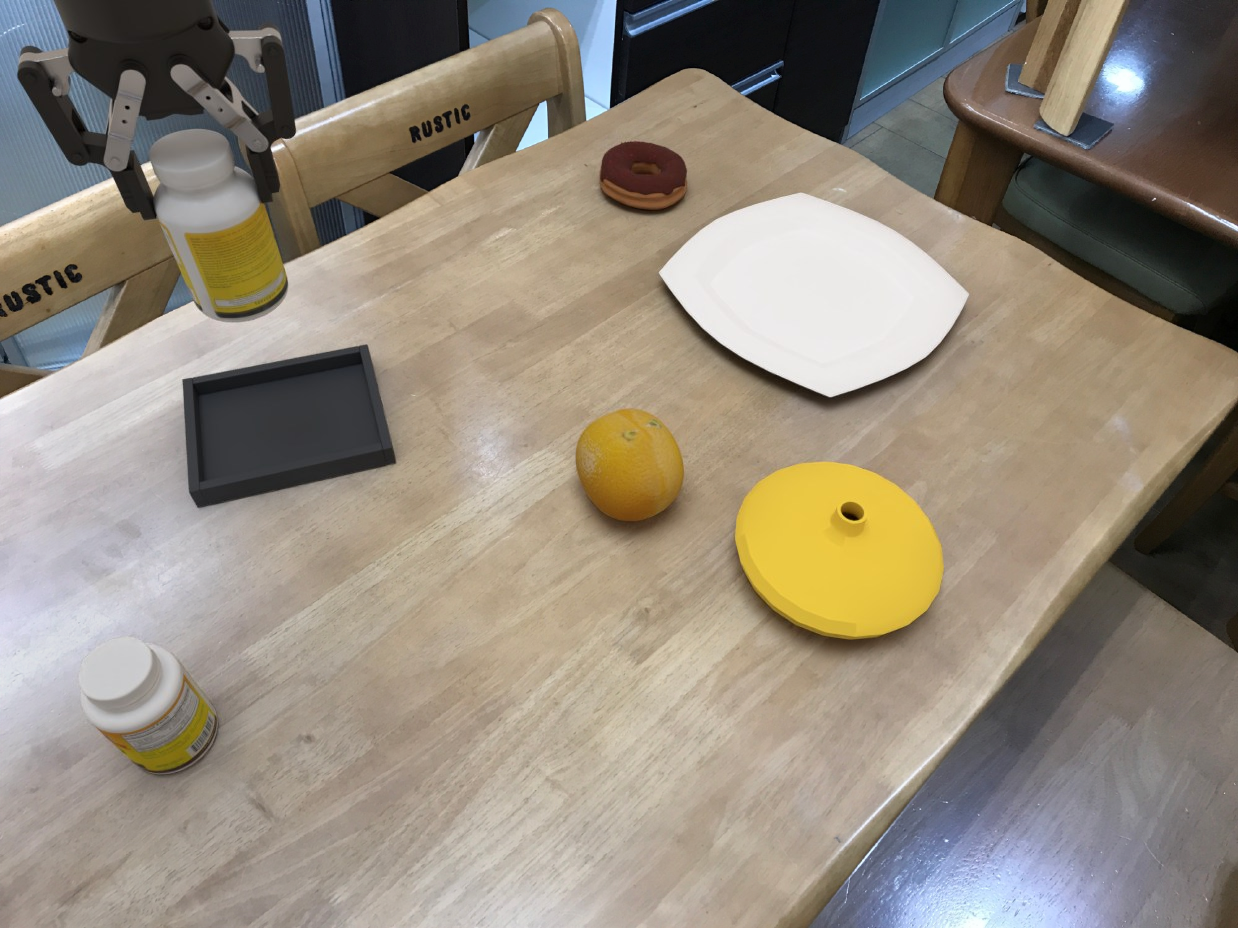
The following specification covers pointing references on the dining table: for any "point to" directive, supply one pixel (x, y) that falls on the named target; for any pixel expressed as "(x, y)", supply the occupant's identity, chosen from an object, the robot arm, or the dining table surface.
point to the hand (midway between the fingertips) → (209, 203)
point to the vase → (838, 550)
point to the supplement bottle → (146, 704)
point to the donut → (643, 175)
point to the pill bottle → (216, 227)
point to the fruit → (629, 464)
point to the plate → (814, 293)
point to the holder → (283, 425)
